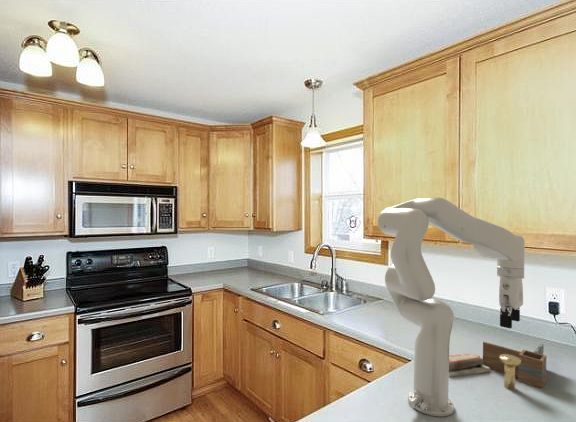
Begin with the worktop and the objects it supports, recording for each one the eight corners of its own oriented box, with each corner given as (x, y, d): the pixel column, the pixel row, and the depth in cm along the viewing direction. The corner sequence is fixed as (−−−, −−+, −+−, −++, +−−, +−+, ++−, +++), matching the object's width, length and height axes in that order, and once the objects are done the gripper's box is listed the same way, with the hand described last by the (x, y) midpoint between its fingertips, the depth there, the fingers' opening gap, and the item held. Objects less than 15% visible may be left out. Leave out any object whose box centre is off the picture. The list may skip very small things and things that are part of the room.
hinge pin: (517, 394, 107) (518, 363, 107) (496, 387, 111) (497, 357, 111) (522, 388, 111) (523, 358, 111) (501, 381, 115) (502, 352, 115)
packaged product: (450, 365, 117) (430, 353, 126) (450, 378, 117) (430, 366, 126) (490, 359, 122) (468, 348, 132) (490, 372, 122) (468, 360, 132)
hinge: (541, 388, 111) (542, 361, 111) (479, 368, 124) (480, 344, 124) (552, 371, 123) (553, 346, 123) (495, 354, 137) (496, 332, 137)
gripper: (516, 277, 102) (516, 333, 102) (530, 270, 114) (529, 320, 114) (489, 274, 108) (489, 327, 108) (504, 267, 120) (504, 315, 120)
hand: (510, 323), depth 111 cm, fingers open, 9 cm apart
